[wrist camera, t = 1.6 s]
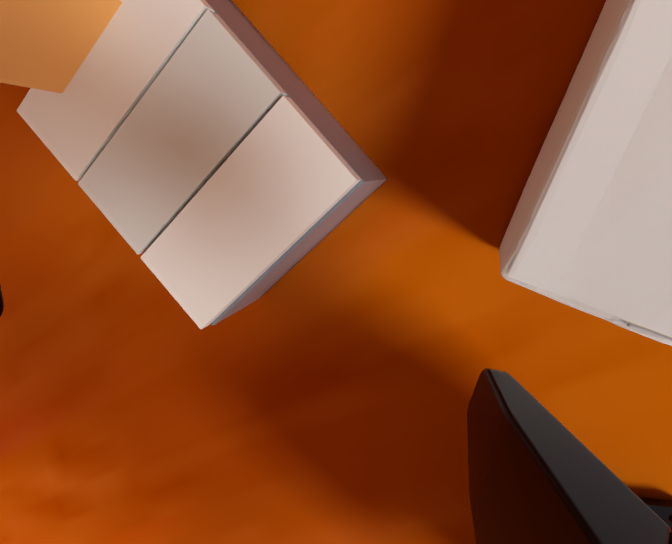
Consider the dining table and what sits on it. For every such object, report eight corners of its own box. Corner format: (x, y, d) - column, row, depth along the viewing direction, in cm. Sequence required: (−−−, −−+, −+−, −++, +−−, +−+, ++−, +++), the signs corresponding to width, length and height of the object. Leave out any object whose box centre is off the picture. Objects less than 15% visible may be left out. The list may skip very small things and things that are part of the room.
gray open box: (387, 178, 19) (363, 181, 15) (258, 298, 22) (212, 326, 18) (211, -23, 19) (146, -69, 16) (107, 120, 22) (31, 110, 19)
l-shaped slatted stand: (361, 179, 15) (134, 201, 5) (209, 324, 18) (-124, 515, 8) (139, -76, 16) (-458, -498, 6) (25, 105, 18) (-508, 33, 9)
